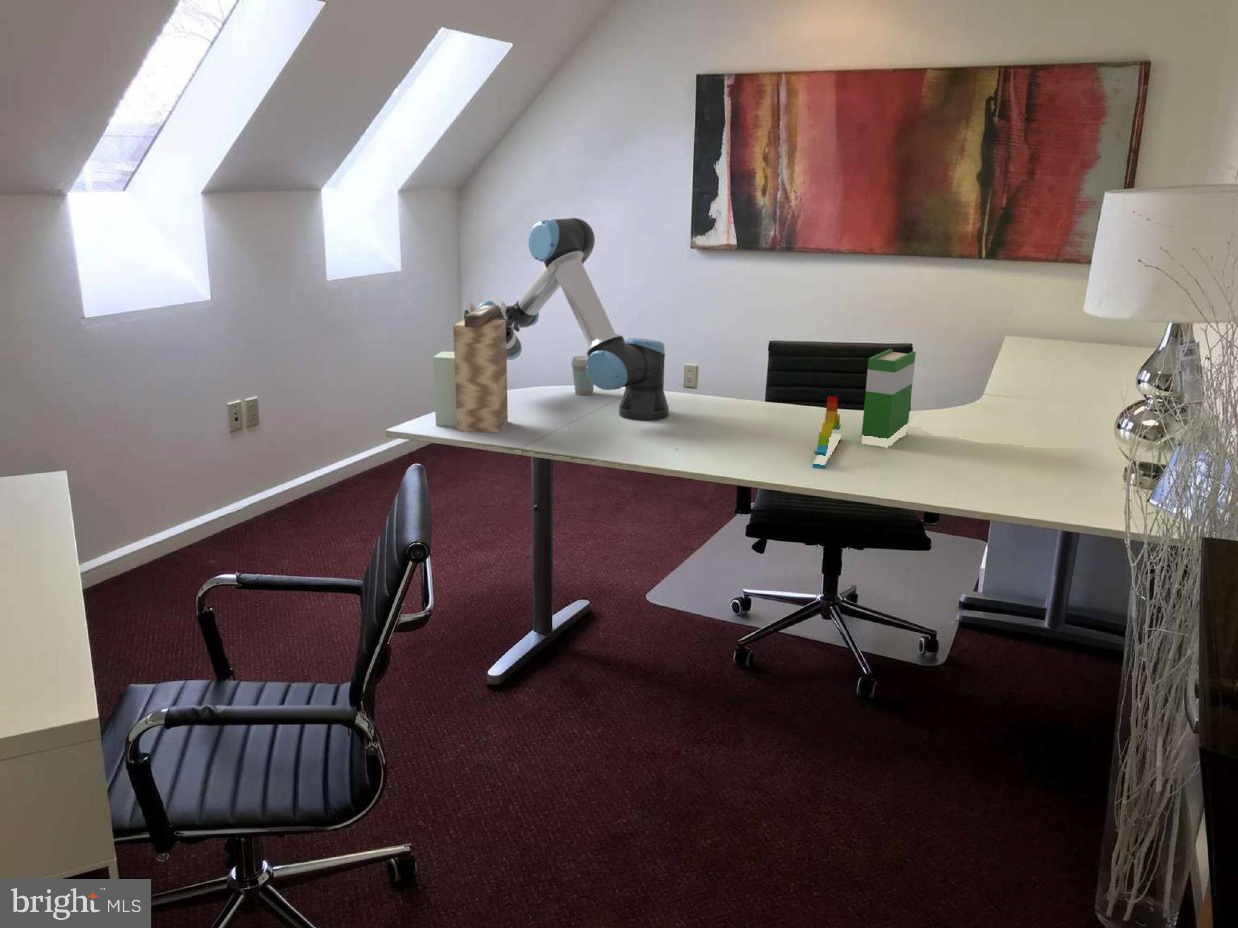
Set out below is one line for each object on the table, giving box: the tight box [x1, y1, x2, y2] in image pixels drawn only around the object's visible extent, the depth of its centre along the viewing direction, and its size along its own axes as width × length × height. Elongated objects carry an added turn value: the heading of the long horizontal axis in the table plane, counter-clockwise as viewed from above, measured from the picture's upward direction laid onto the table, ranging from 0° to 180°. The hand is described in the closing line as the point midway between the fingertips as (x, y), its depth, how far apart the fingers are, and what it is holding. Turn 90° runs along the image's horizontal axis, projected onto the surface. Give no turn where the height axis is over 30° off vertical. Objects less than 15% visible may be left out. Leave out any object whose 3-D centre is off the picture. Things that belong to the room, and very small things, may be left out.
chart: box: [812, 396, 842, 470], centre depth 255 cm, size 30×3×15 cm, turn 160°
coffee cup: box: [571, 355, 595, 396], centre depth 318 cm, size 9×8×12 cm
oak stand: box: [452, 318, 509, 433], centre depth 274 cm, size 12×12×30 cm
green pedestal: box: [432, 351, 457, 427], centre depth 279 cm, size 7×9×20 cm
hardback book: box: [861, 348, 917, 439], centre depth 268 cm, size 18×7×24 cm, turn 147°
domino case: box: [463, 304, 500, 327], centre depth 272 cm, size 4×22×3 cm, turn 174°
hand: (485, 305), depth 275 cm, fingers open, 9 cm apart
